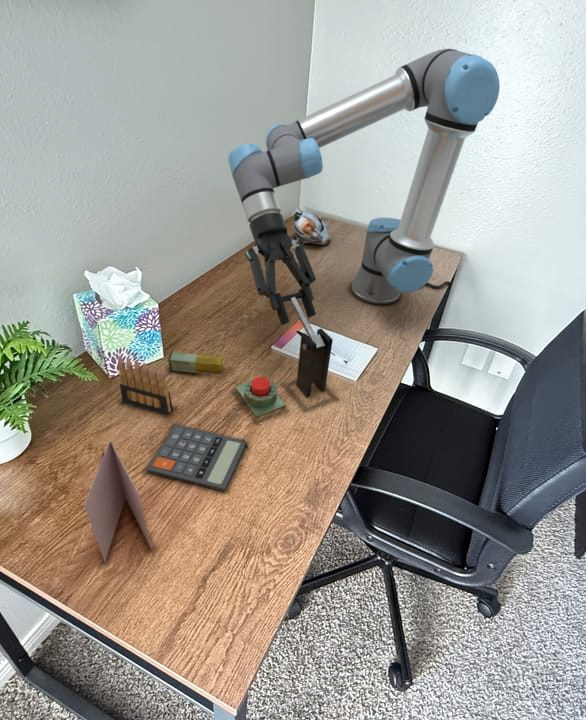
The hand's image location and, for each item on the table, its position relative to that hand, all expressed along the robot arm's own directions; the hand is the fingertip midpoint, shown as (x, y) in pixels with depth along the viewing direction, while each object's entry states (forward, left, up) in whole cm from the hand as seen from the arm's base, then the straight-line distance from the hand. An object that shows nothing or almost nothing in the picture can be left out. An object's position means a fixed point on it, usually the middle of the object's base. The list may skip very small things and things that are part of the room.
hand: (298, 319), depth 100 cm
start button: (+11, +7, -12) cm, 17 cm away
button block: (+11, +7, -16) cm, 20 cm away
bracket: (-1, +7, -16) cm, 17 cm away
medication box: (+21, -7, -16) cm, 28 cm away
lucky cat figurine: (-33, -67, -16) cm, 77 cm away
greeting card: (+39, +29, -16) cm, 51 cm away
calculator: (+26, +18, -16) cm, 35 cm away
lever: (0, +2, 0) cm, 2 cm away
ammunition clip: (+33, +1, -16) cm, 37 cm away
